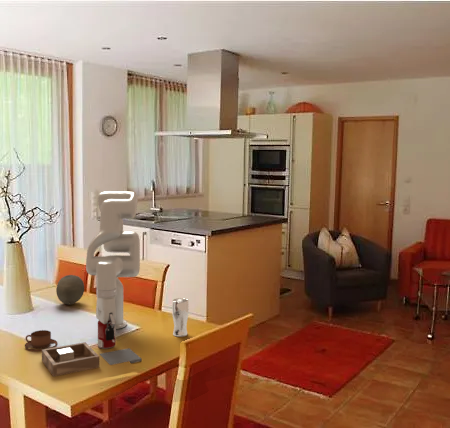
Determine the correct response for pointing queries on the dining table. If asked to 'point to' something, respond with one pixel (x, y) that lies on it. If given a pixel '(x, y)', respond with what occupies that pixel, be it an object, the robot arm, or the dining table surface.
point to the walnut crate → (82, 360)
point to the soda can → (104, 337)
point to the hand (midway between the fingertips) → (106, 336)
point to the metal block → (64, 354)
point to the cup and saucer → (40, 340)
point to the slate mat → (121, 356)
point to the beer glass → (180, 316)
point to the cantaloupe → (70, 289)
